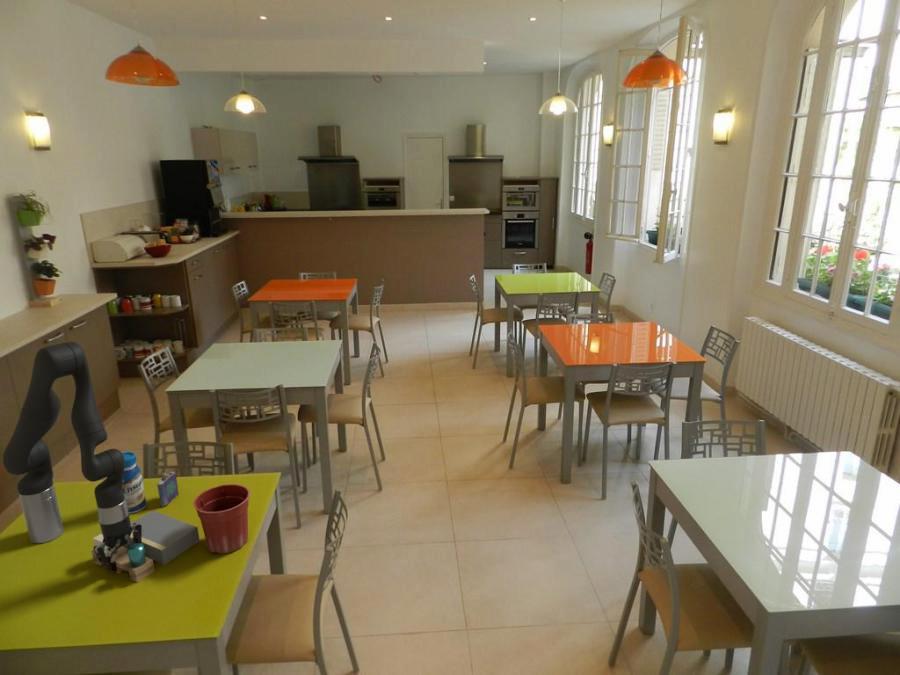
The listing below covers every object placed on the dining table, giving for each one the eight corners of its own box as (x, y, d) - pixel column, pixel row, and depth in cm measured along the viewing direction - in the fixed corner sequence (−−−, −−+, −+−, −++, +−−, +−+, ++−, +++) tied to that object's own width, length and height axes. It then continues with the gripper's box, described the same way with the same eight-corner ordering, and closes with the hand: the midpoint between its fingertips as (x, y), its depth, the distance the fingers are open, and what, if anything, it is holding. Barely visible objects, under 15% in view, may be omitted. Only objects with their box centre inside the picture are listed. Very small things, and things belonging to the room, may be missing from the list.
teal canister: (127, 564, 174) (124, 549, 173) (140, 556, 178) (137, 541, 176) (136, 569, 172) (133, 553, 171) (149, 560, 176) (146, 545, 174)
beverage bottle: (139, 498, 215) (130, 447, 209) (152, 506, 210) (142, 454, 205) (115, 509, 209) (105, 457, 203) (128, 517, 204) (117, 464, 198)
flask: (165, 507, 210) (161, 480, 206) (158, 506, 210) (153, 479, 207) (180, 493, 218) (176, 466, 215) (173, 492, 219) (168, 466, 216)
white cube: (95, 549, 181) (93, 538, 180) (108, 542, 184) (105, 531, 183) (104, 553, 179) (101, 541, 178) (116, 546, 183) (114, 534, 181)
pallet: (94, 562, 181) (91, 551, 180) (111, 551, 186) (109, 540, 185) (137, 582, 173) (135, 570, 171) (154, 571, 177) (152, 559, 176)
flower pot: (219, 524, 200) (213, 481, 195) (265, 529, 196) (259, 486, 192) (189, 555, 184) (181, 509, 179) (238, 562, 181) (231, 515, 176)
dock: (119, 545, 189) (116, 531, 188) (155, 523, 200) (152, 510, 199) (164, 564, 180) (161, 550, 179) (199, 540, 191) (197, 526, 190)
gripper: (128, 500, 182) (137, 548, 187) (81, 525, 170) (92, 575, 175) (144, 506, 179) (153, 555, 184) (98, 532, 166) (109, 583, 171)
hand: (123, 564), depth 179 cm, fingers closed on pallet, 5 cm apart
